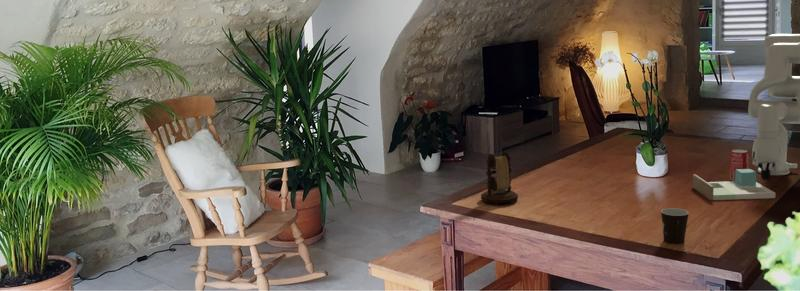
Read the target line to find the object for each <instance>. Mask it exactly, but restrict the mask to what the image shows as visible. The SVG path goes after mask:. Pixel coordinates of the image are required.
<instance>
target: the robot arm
mask: <svg viewBox="0 0 800 291" xmlns="http://www.w3.org/2000/svg"><path fill="white" fill-rule="evenodd" d="M763 43H764V50H765V53H766V56H765V57H766V58H765V68H764V75H763V78H762V79H761V80H759V81H758V82H757V83H756V84H755V85H754V87H753V88H752V89H751V92H750V94H749V100H748V107H747V108H748V109H747V113H748V116H749V117H750V118H751V119H756V120H757V136H756V137H754V141H753V145H752V151H751V160H752V165H753V166H756V167H758V168H757V173H759V174H760V177H761V179H762V180H764V181H769V180H770V177H771V176H785V175H786V176H787V175H789V174H790V170H791V169H797V168H798V165H799V164H797V163H789V162H788V161H787V156H788V155H787V152H788V138H789V137H788V132H787V129H786V127H785V126H784V125H783V124H795V125H799V124H800V75H792V68H793V64H800V33H773V34H770V35H769V34H768V35H767V36H765V37H764V42H763ZM766 90H768V94H769V96H770V97H772V98H779V99H795V100H796V101H795V100H793V101H791V100H758V97H759V96H760V94H761V93H762V92H764V91H766Z"/></svg>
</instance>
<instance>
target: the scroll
mask: <svg viewBox="0 0 800 291" xmlns="http://www.w3.org/2000/svg"><path fill="white" fill-rule="evenodd" d="M511 159H512V157H511V156H510V155H509V153H508V152H507V151H503V152H502V153H501V156H495V155H494V153H490V154H488V156H487V159H486V165H487V168H486V172H485V173H486V174H485V175H486V176H487V180H486V181H487V183H486V186H487V190H485V191H484V192H483V193H481V195H480V199H481V200H482V202H483V201H484V202H488V203H494V205H495V206H498V205H499V204H505V203H511V202H515V203H518V199H519V194H518V193H517V192H516V191H514V190H511V189H512V186H511V184H512V179H511V177H512V175H511V172H512V171H513V170H512V167H511V166H512V165H511ZM492 175H496V178H495V177H494V176H492ZM498 203H499V204H498Z"/></svg>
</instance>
